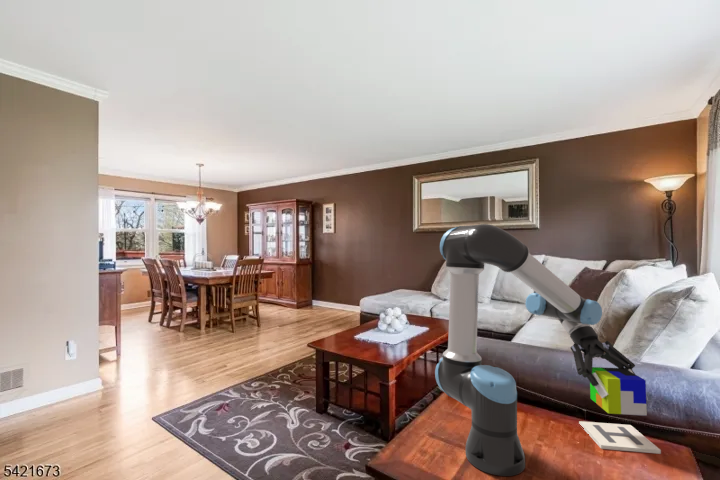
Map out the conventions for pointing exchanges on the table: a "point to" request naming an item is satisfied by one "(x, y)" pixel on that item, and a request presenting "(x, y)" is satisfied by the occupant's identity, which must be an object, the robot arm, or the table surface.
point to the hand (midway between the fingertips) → (624, 394)
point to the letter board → (618, 437)
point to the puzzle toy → (620, 391)
